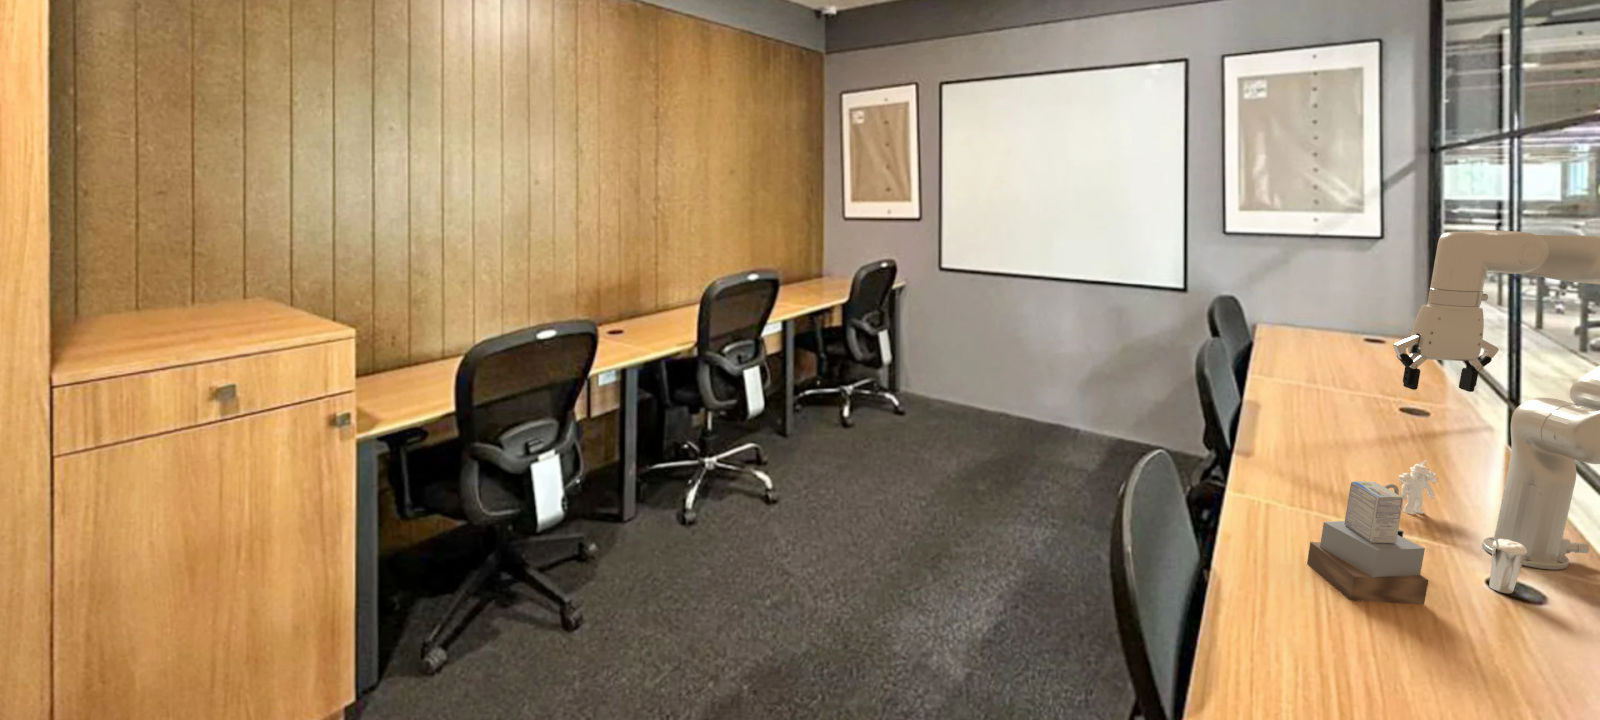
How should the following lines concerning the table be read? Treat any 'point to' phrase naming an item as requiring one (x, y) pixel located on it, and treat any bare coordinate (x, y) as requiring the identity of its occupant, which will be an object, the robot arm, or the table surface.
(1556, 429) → the robot arm
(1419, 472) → the blocky character figurine
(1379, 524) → the medicine box
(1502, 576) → the milkshake
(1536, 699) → the table surface
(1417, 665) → the table surface
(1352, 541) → the upper block
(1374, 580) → the lower block
